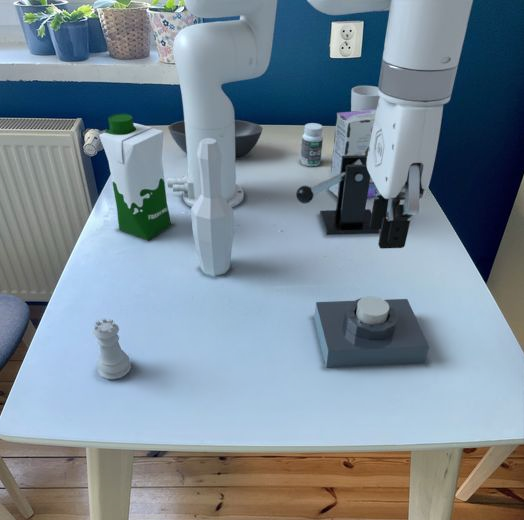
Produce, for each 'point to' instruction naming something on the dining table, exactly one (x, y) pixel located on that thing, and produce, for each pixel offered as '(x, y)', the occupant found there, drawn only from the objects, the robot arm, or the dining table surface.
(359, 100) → the cup
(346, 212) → the lever bracket
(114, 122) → the milk carton
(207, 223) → the low poly bottle
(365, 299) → the white push button
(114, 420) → the dining table surface
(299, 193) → the ball knob lever
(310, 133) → the pill bottle
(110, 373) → the rook chess piece
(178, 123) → the bowl
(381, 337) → the block
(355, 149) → the candy box
